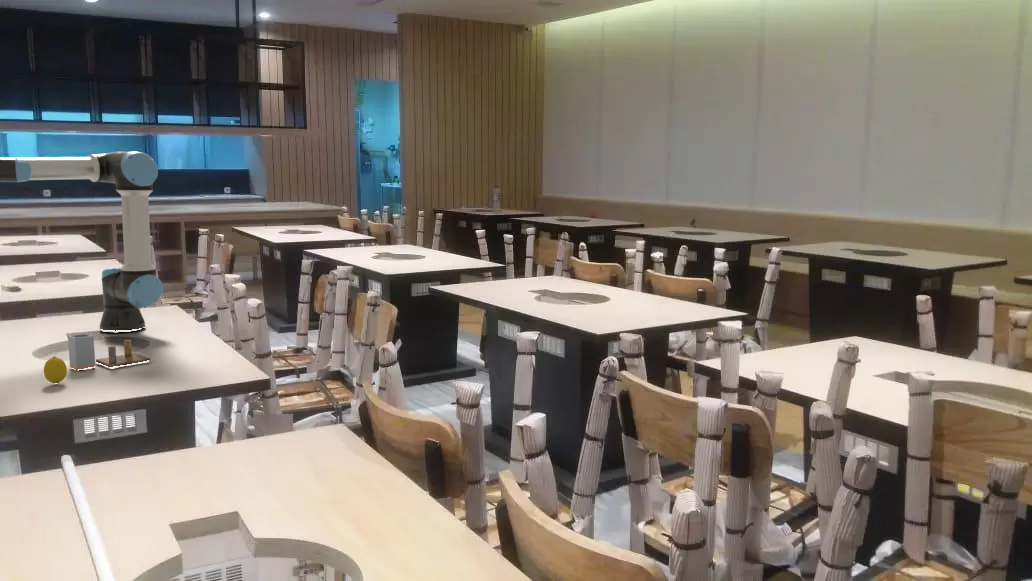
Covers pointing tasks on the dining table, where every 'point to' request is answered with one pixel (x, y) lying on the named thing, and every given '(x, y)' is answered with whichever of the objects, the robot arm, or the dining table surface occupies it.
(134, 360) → the pin board
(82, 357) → the sleeve
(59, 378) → the lemon
